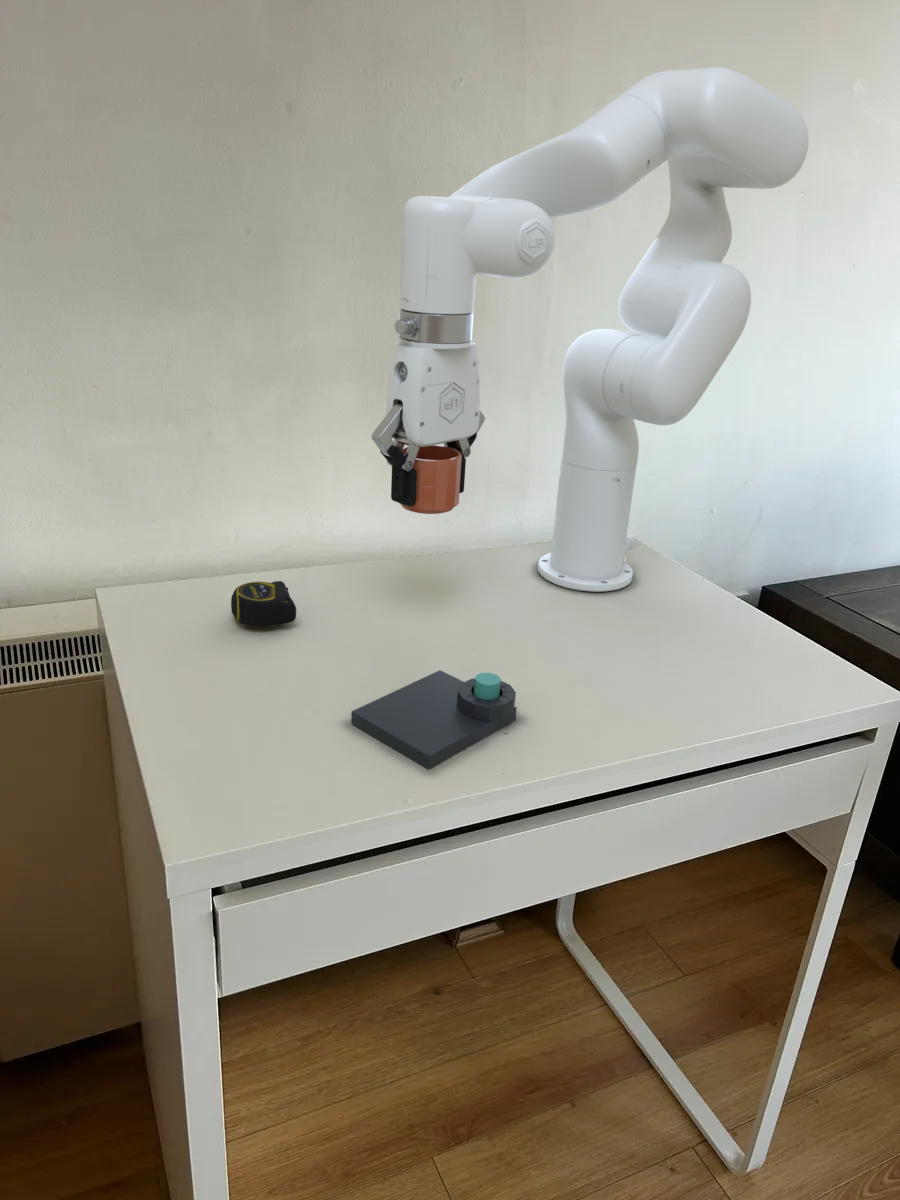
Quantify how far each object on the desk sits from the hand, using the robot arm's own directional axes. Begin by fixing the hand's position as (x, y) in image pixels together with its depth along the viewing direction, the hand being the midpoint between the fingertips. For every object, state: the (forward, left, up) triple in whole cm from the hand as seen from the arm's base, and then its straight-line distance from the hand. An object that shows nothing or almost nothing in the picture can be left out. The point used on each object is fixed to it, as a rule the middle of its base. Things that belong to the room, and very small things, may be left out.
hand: (428, 495), depth 99 cm
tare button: (+11, +19, -12) cm, 26 cm away
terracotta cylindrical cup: (0, 0, -1) cm, 1 cm away
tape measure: (+13, -12, -15) cm, 23 cm away
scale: (+15, +16, -15) cm, 27 cm away
